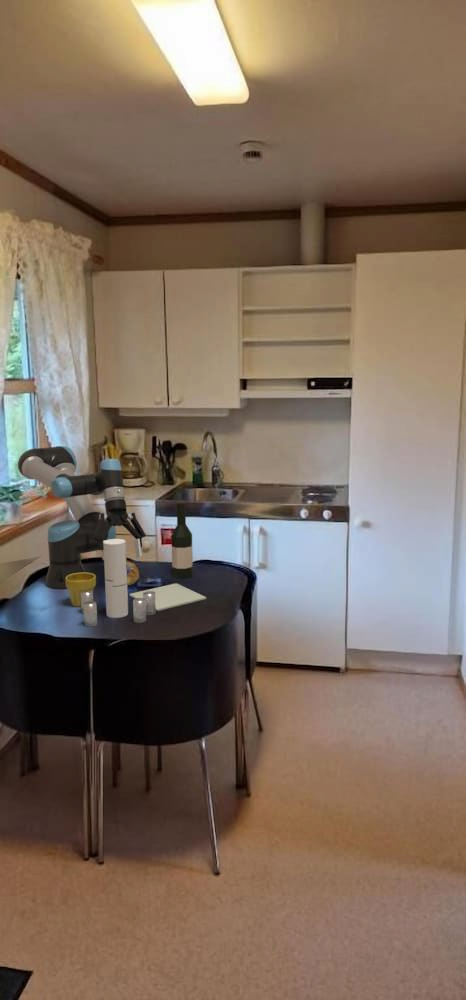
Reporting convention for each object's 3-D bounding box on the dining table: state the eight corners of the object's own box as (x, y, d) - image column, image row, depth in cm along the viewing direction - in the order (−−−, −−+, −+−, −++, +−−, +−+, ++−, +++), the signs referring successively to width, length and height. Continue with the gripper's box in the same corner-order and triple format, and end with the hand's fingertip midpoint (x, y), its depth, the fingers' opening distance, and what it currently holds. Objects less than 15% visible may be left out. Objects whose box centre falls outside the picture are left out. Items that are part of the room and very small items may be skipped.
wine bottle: (178, 571, 272) (177, 498, 266) (196, 574, 268) (195, 500, 262) (168, 577, 264) (166, 502, 259) (186, 580, 261) (184, 504, 255)
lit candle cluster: (68, 613, 226) (67, 594, 224) (132, 599, 240) (131, 580, 238) (97, 634, 208) (96, 612, 207) (164, 616, 222) (163, 596, 221)
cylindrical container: (113, 609, 230) (110, 538, 225) (131, 611, 228) (129, 539, 223) (102, 616, 223) (99, 543, 218) (121, 618, 221) (118, 545, 216)
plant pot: (102, 603, 236) (101, 576, 234) (76, 610, 229) (74, 583, 227) (87, 596, 243) (85, 570, 241) (61, 603, 236) (59, 576, 234)
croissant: (136, 596, 254) (145, 577, 253) (111, 586, 251) (121, 567, 250) (130, 578, 274) (139, 560, 273) (108, 568, 271) (117, 551, 270)
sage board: (129, 595, 244) (129, 594, 243) (176, 584, 255) (176, 583, 255) (157, 611, 228) (157, 609, 228) (206, 598, 240) (206, 597, 239)
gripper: (87, 498, 235) (94, 558, 231) (149, 498, 250) (157, 554, 246) (78, 503, 241) (85, 562, 237) (140, 503, 256) (147, 558, 252)
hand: (122, 558), depth 241 cm, fingers open, 13 cm apart
